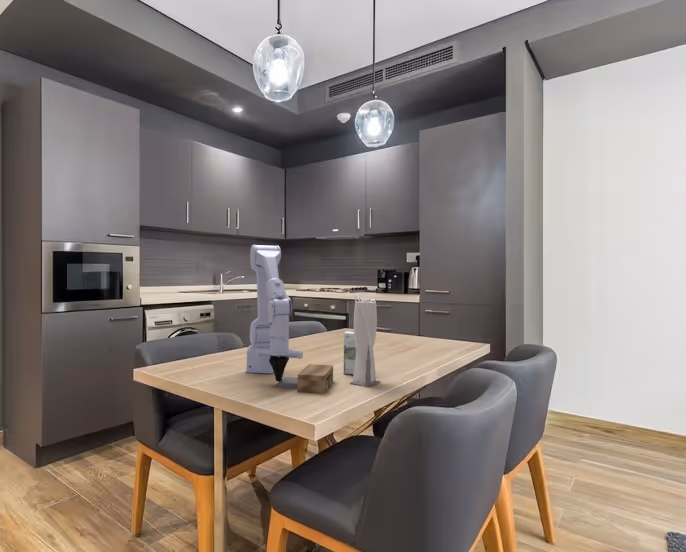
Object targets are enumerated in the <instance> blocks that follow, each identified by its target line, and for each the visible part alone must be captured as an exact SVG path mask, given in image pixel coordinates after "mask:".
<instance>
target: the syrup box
mask: <svg viewBox="0 0 686 552" xmlns="http://www.w3.org/2000/svg"><path fill="white" fill-rule="evenodd" d="M356 351H357V349H356V344H355V338H354V330H346V331H345V332H343V375H349V376H354V367H355V358H356Z"/></svg>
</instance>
